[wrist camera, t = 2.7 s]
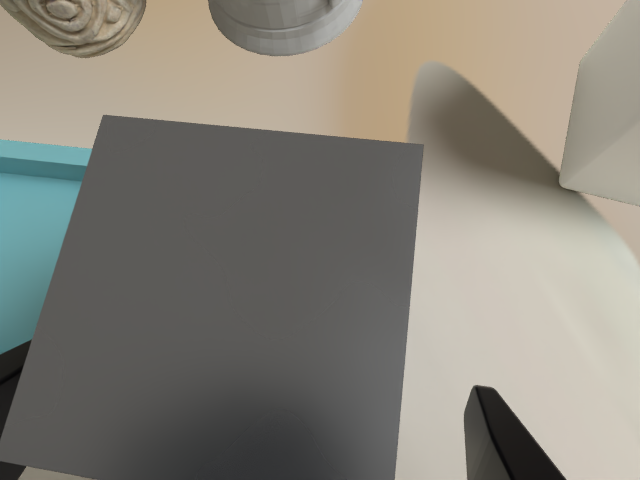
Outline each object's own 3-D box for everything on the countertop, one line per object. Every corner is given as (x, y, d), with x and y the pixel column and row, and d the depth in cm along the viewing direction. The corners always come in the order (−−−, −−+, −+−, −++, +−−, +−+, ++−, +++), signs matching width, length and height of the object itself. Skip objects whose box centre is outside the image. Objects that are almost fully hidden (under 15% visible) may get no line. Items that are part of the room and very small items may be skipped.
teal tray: (104, 385, 18) (58, 389, 15) (-93, 353, 19) (-171, 351, 16) (158, 181, 21) (127, 152, 18) (-19, 162, 22) (-75, 132, 19)
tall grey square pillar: (361, 410, 17) (388, 535, 5) (243, 391, 18) (-7, 459, 5) (374, 289, 19) (423, 145, 6) (264, 275, 19) (103, 114, 7)
